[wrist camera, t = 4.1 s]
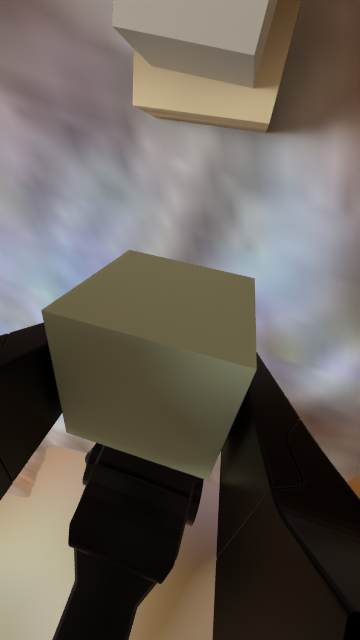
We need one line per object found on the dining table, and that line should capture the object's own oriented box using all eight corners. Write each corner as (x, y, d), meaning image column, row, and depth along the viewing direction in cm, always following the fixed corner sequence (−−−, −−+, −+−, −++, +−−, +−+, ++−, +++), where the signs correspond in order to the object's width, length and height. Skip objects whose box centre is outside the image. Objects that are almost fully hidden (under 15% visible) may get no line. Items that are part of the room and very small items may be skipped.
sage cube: (222, 372, 11) (207, 480, 7) (127, 345, 11) (66, 432, 8) (254, 278, 8) (256, 369, 5) (129, 249, 9) (41, 310, 5)
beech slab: (265, 133, 15) (269, 123, 12) (157, 118, 16) (132, 105, 13) (314, -56, 11) (340, -149, 8) (168, -62, 12) (137, -148, 9)
